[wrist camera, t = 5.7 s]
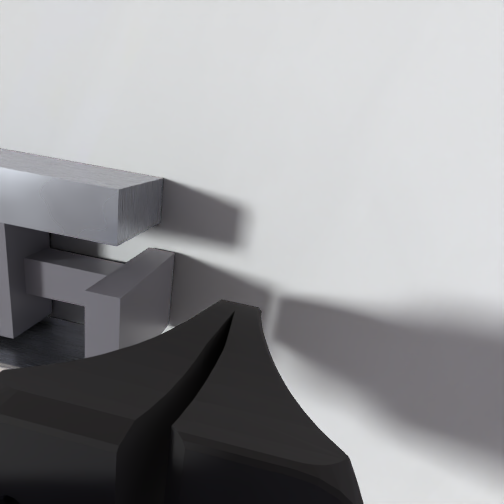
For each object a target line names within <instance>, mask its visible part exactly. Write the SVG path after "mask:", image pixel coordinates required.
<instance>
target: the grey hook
mask: <svg viewBox="0 0 504 504" xmlns="http://www.w3.org/2000/svg"><path fill="white" fill-rule="evenodd" d="M174 257H175V253H173V252H168V251H163V250H159V249H154V248H148V249H146V250H145V251H143V252H142V253H140V254H139V255H137V256H136V257H134V258H133V259H131V260H130V261H128V262H127V263H125V264H123V263H118V262H113V261H109V260H104V259H99V258H94V257H89V256H85V255H80V254H75V253H70V252H65V251H61V250H56V249H51V248H50V240H49V232H45V231H40V230H35V229H30V228H25V227H20V226H15V225H11V224H6V223H1V222H0V336H4V337H8V338H12V339H14V338H15V337H17V336H18V335H20V334H21V333H23V332H24V331H26V330H27V329H29V328H30V327H32V326H33V325H35V324H36V323H38V322H39V321H41V320H42V319H44V318H45V317H47V316H48V315H50V314H51V313H52V299H53V300H58V301H62V302H67V303H71V304H76V305H80V306H85V358H88V357H92V356H97V355H101V354H105V353H108V352H112V351H115V350H119V349H122V348H125V347H129V346H132V345H135V344H138V343H141V342H143V341H146V340H148V339H151V338H154V337H156V336H158V335H161V333H162V332H163V331H164V329H165V328H166V327H167V325H168V324H169V314H170V303H171V291H172V280H173V268H174Z"/></svg>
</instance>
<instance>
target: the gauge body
mask: <svg viewBox="0 0 504 504" xmlns="http://www.w3.org/2000/svg"><path fill="white" fill-rule="evenodd" d="M162 191H163V178H160V177H155V176H149V175H144V174H138V173H133V172H127V171H122V170H116V169H111V168H105V167H100V166H94V165H89V164H83V163H78V162H72V161H67V160H61V159H56V158H50V157H45V156H39V155H34V154H28V153H23V152H17V151H12V150H6V149H1V148H0V222H1V223H6V224H11V225H15V226H20V227H25V228H30V229H35V230H40V231H45V232H50V233H55V234H60V235H64V236H69V237H74V238H79V239H84V240H89V241H94V242H99V243H104V244H108V245H113V246H118V245H120V244H122V243H124V242H126V241H128V240H129V239H131V238H133V237H135V236H137V235H138V234H140V233H142V232H144V231H146V230H148V229H149V228H151V227H153V226H155V225H157V224H158V223H160V219H161V205H162ZM84 358H85V325H83V324H78V323H74V322H70V321H65V320H61V319H57V318H52V317H48V316H47V317H45V318H44V319H42V320H41V321H39V322H38V323H36V324H35V325H33V326H32V327H30V328H29V329H27V330H26V331H24V332H23V333H21V334H20V335H18V336H17V337H15V338H14V339H12V338H8V337H4V336H0V372H1V371H2V370H6V369H17V368H25V367H33V366H41V365H49V364H56V363H62V362H68V361H73V360H78V359H84Z"/></svg>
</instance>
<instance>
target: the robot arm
mask: <svg viewBox="0 0 504 504" xmlns="http://www.w3.org/2000/svg"><path fill="white" fill-rule="evenodd" d="M0 504H363V500H362V497H361V493H360V490H359V486H358V482H357V479H356V476H355V473H354V470H353V467H352V464H351V461H350V459H349V457H348V456H347V455H346V454H345V453H344V452H343V451H342V450H341V449H340V448H339V447H338V446H337V445H336V444H335V443H334V442H333V441H331V440H330V439H329V438H328V437H327V436H326V435H325V434H324V433H323V432H322V431H321V430H320V429H319V428H318V427H317V426H316V425H315V423H314V422H313V421H312V420H311V419H310V418H309V417H308V415H307V414H306V413H305V412H304V411H303V409H302V408H301V407H300V405H299V404H298V403H297V401H296V400H295V399H294V397H293V396H292V394H291V393H290V391H289V390H288V388H287V386H286V385H285V383H284V381H283V380H282V378H281V376H280V374H279V372H278V370H277V368H276V366H275V364H274V362H273V359H272V357H271V354H270V352H269V349H268V346H267V343H266V340H265V336H264V333H263V329H262V323H261V310H260V309H259V308H258V307H254V306H249V305H244V304H240V303H235V302H230V301H226V300H221V301H219V302H217V303H216V304H214V305H212V306H211V307H209V308H208V309H206V310H205V311H203V312H201V313H200V314H198V315H196V316H195V317H193V318H191V319H190V320H188V321H186V322H184V323H182V324H181V325H179V326H177V327H175V328H173V329H171V330H169V331H167V332H165V333H163V334H161V335H158V336H156V337H154V338H151V339H148V340H146V341H143V342H141V343H138V344H135V345H132V346H129V347H125V348H122V349H119V350H115V351H112V352H108V353H105V354H101V355H97V356H92V357H88V358H84V359H78V360H73V361H68V362H62V363H56V364H49V365H41V366H33V367H25V368H17V369H6V370H2V371H1V372H0Z"/></svg>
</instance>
